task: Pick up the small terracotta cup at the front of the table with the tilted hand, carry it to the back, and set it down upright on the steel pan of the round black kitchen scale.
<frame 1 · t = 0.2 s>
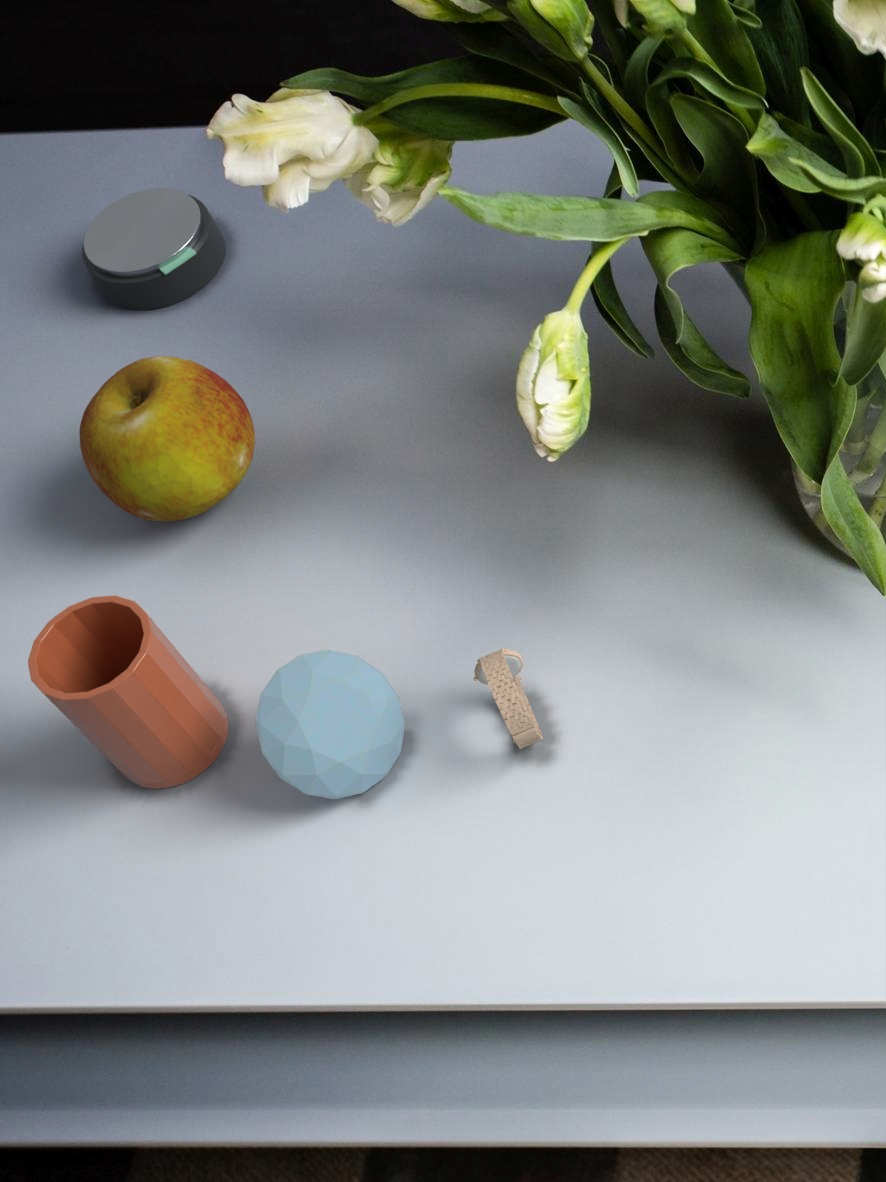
cup: (173, 739, 86), on the table
gemstone: (351, 751, 85), on the table
wristwatch: (525, 728, 85), on the table
fruit: (201, 485, 96), on the table
scale: (163, 263, 107), on the table
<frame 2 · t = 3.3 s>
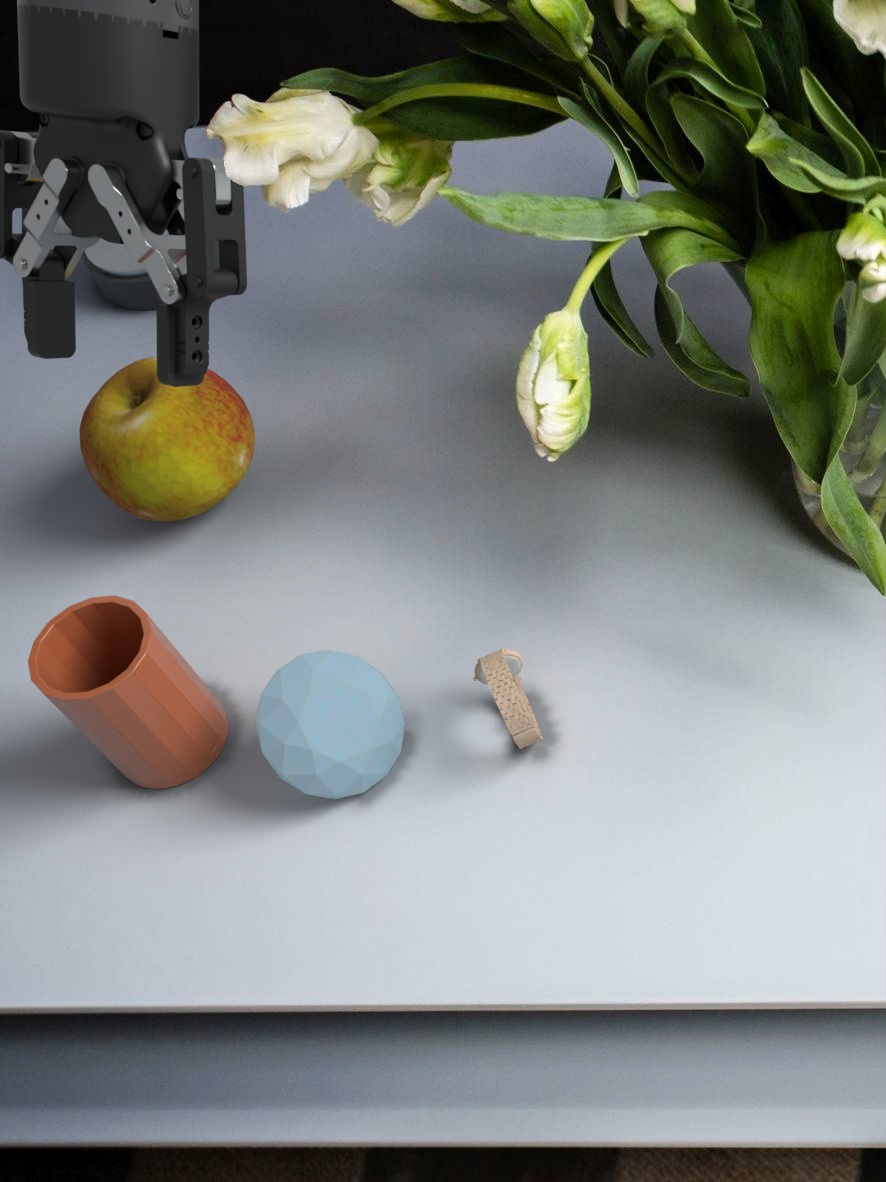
hand: (115, 370, 78), 16 cm above the table, tool tilted 45°, fingers open, 8 cm apart
nothing on the table moved.
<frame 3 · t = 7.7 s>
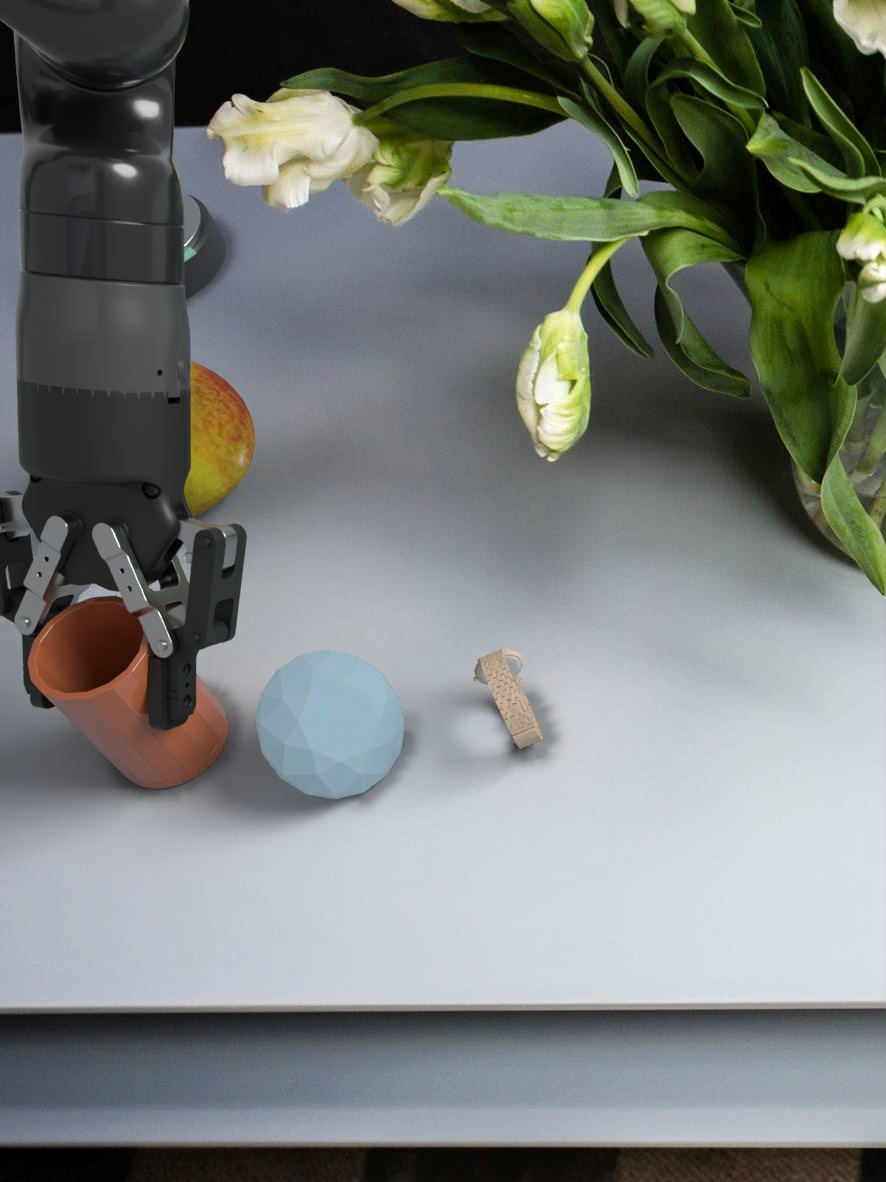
hand: (110, 714, 81), 5 cm above the table, tool tilted 45°, fingers closed on cup, 6 cm apart
cup: (173, 739, 86), on the table, touching gripper
everything else where it was.
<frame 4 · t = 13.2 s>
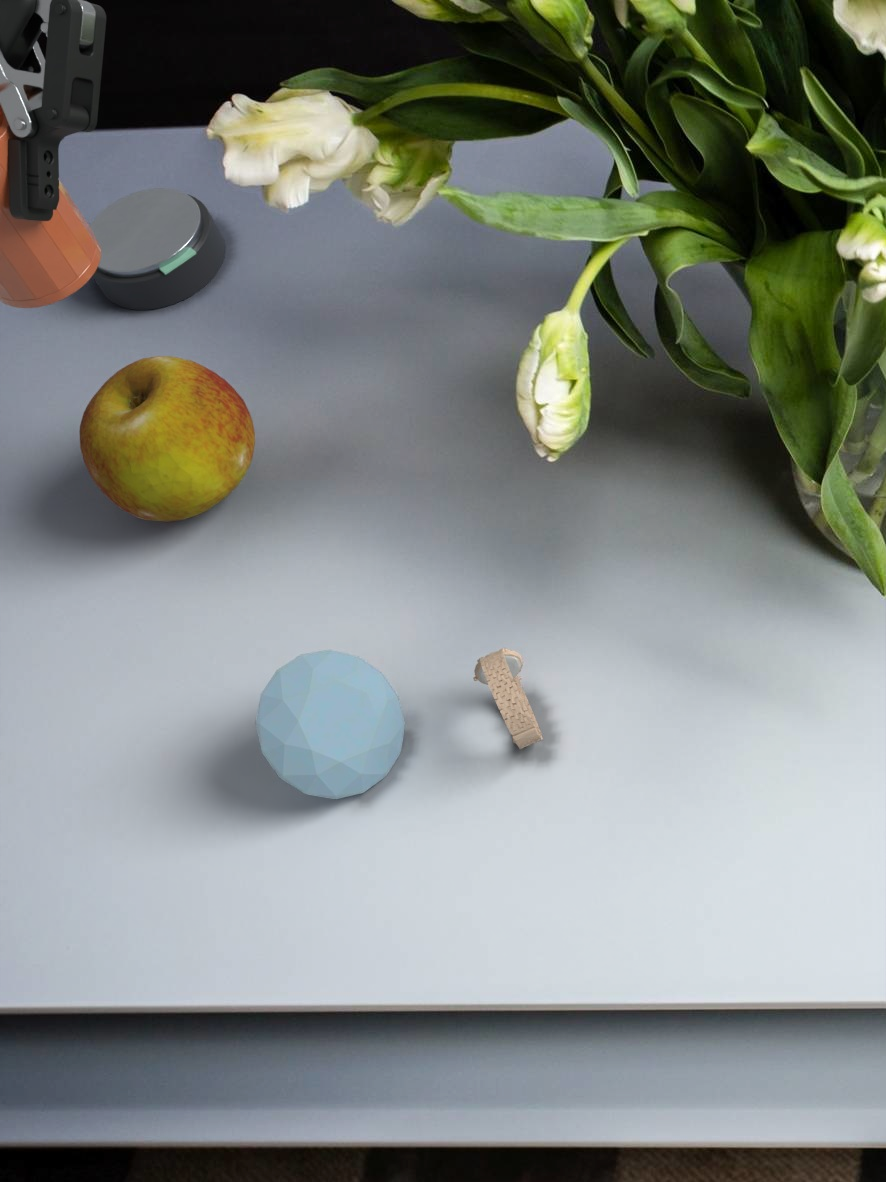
cup: (46, 267, 86), point 14 cm above the table, touching gripper
everything else where it was.
when the fingers open (8 cm above the table, at t = 18.7 s): cup stays where it is, resting on scale.
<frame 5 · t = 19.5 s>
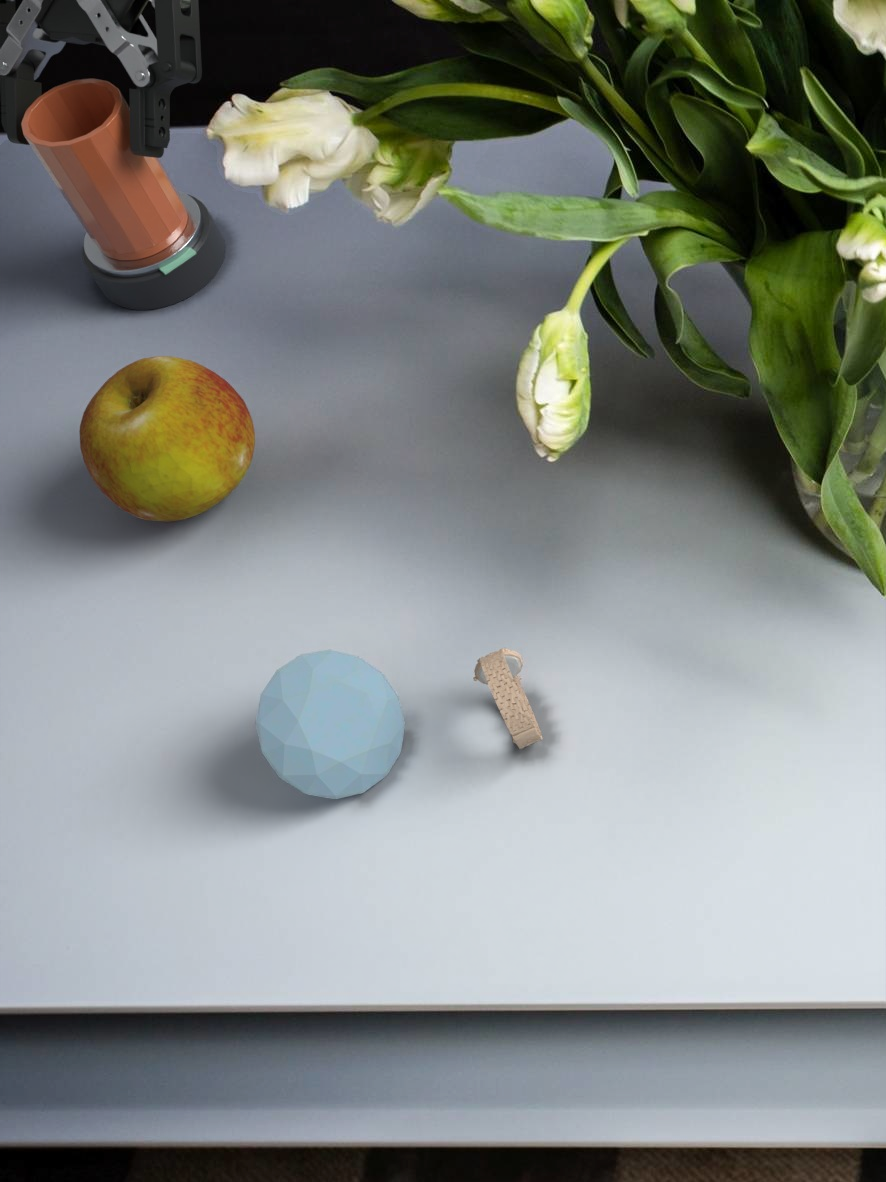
hand: (86, 150, 98), 10 cm above the table, tool tilted 45°, fingers open, 8 cm apart
cup: (142, 227, 104), point 3 cm above the table, touching scale
everything else where it was.
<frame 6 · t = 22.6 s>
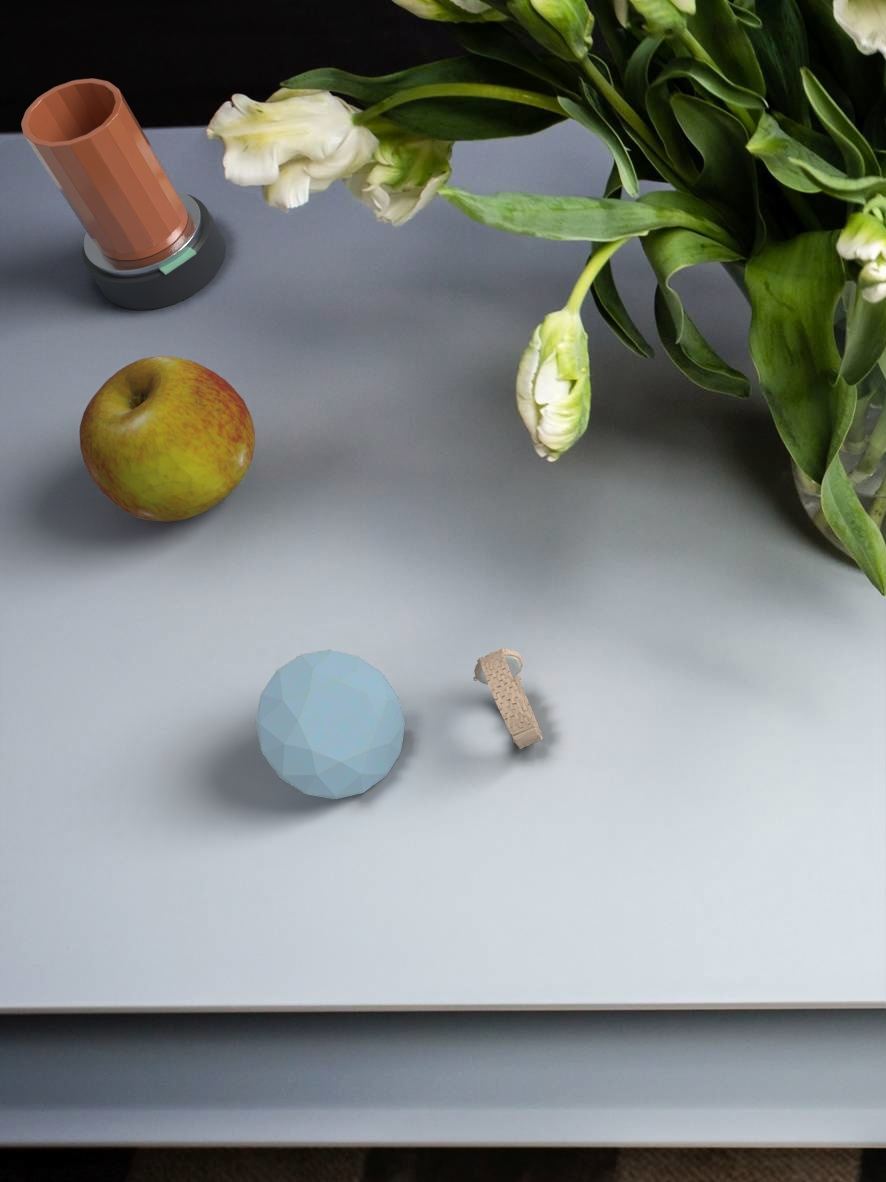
nothing on the table moved.
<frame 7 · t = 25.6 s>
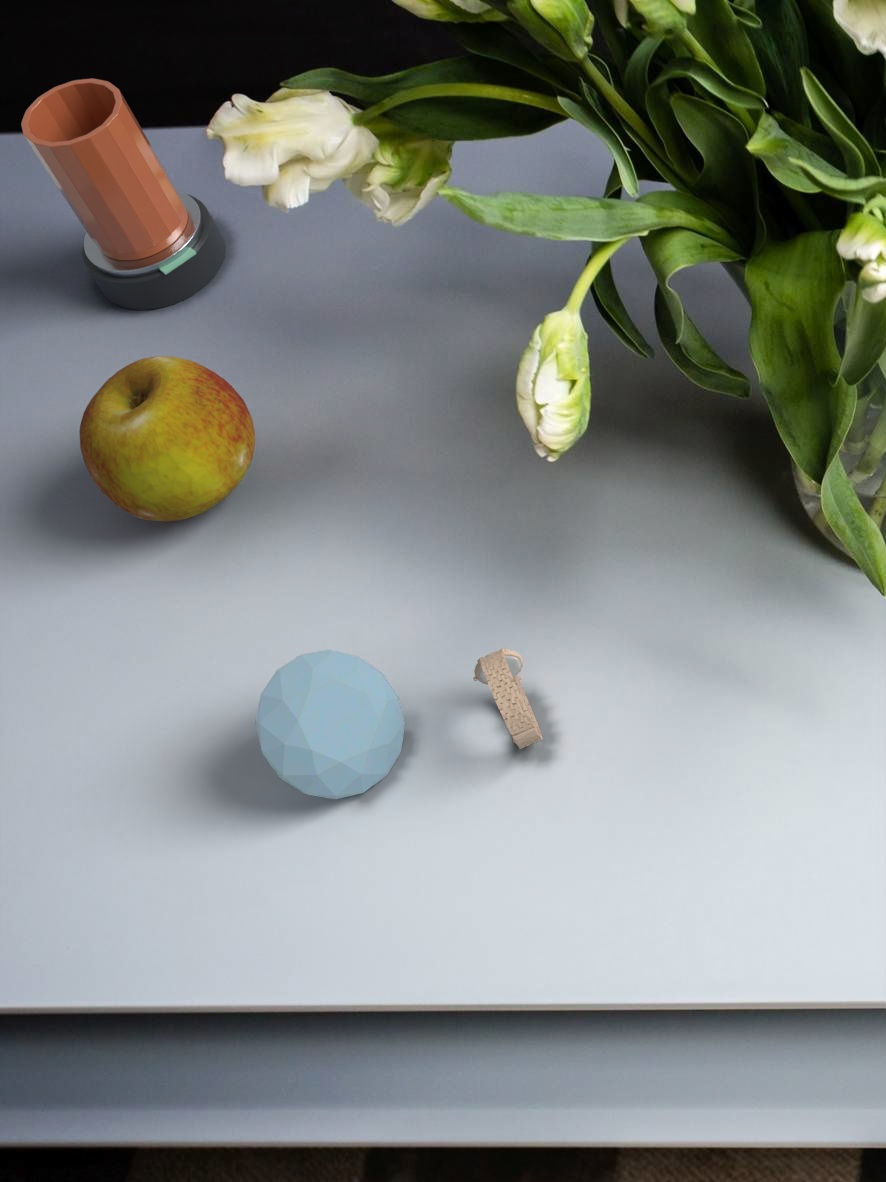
nothing on the table moved.
at the end: cup 0.1 cm off-centre on the scale, point 3.0 cm above the scale's base; cup tilted 0°; the gripper is holding nothing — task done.
